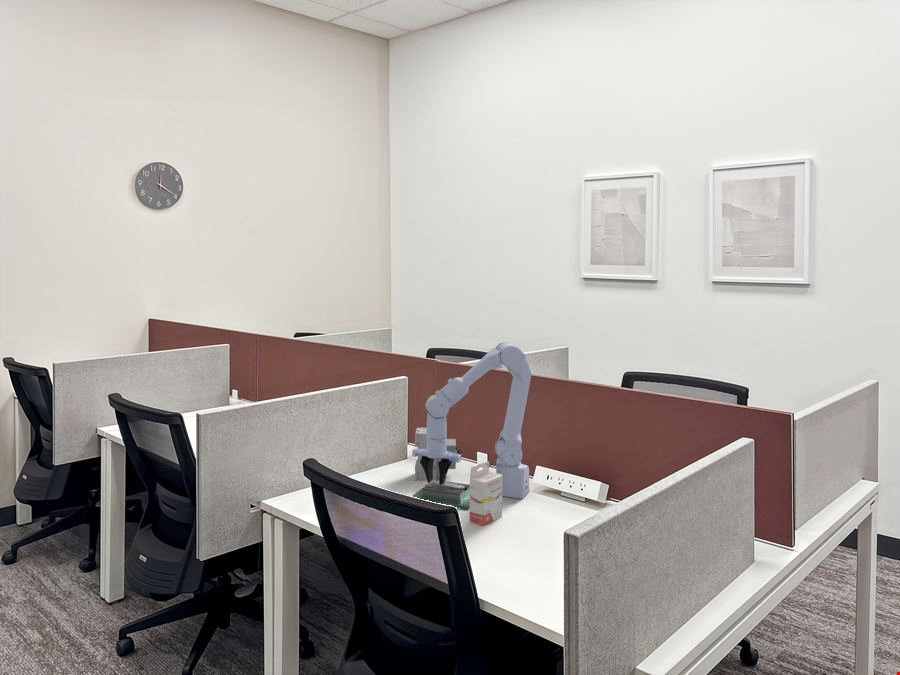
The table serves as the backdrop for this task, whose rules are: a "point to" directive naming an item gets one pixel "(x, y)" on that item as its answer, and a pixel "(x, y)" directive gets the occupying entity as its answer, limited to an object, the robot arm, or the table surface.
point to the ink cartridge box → (485, 495)
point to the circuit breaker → (422, 444)
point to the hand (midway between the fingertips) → (436, 483)
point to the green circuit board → (446, 495)
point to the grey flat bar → (448, 485)
